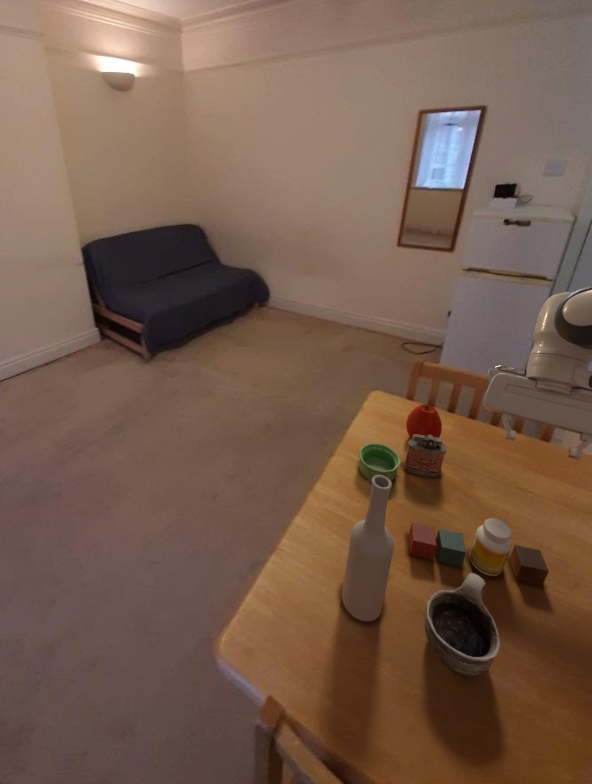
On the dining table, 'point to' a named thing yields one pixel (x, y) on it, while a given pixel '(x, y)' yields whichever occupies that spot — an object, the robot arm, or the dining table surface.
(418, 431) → the apple
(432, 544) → the red cube
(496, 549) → the supplement bottle
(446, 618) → the mug
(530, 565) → the brown block
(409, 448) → the lighter
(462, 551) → the block
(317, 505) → the dining table surface
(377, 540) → the bottle
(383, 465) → the ramekin
